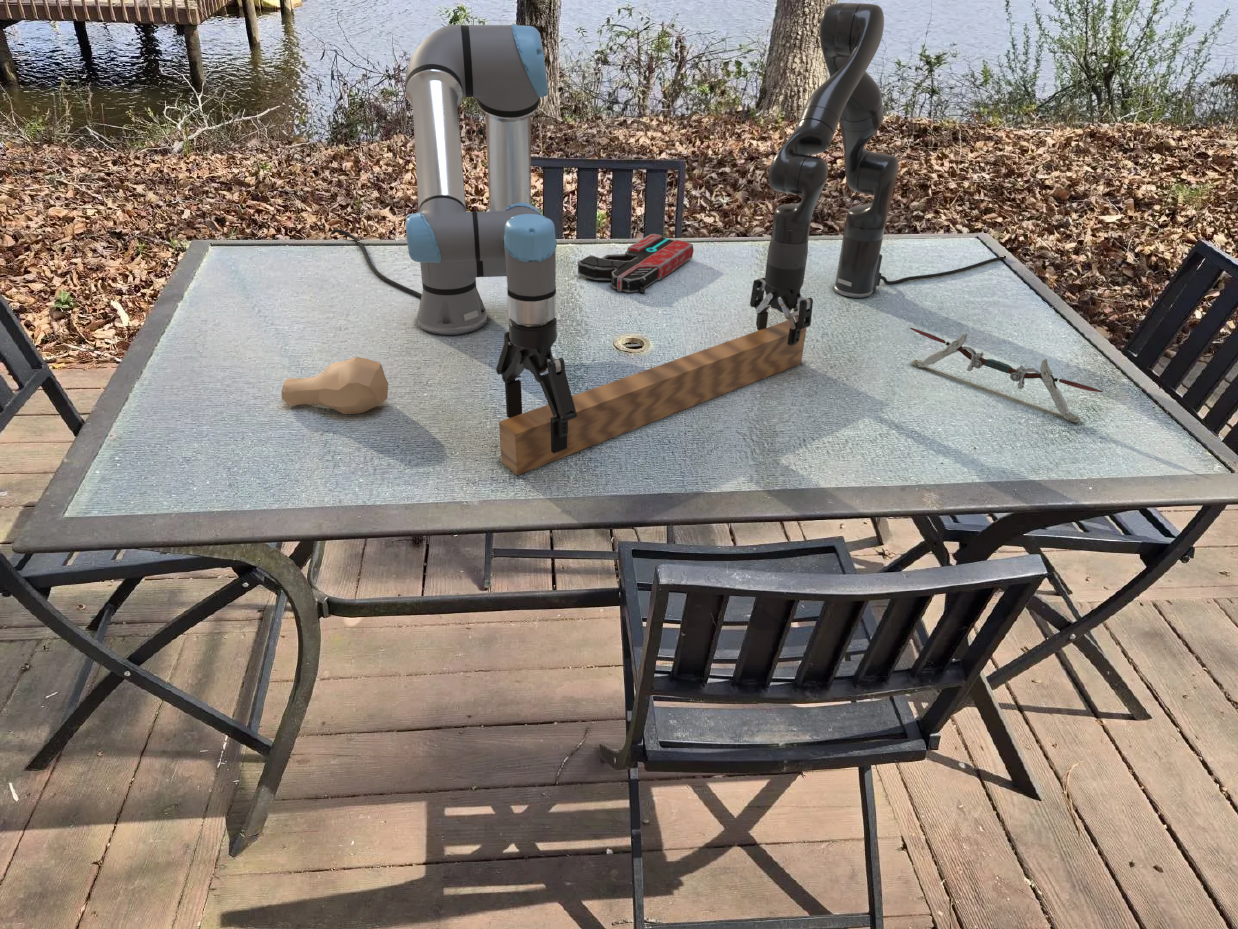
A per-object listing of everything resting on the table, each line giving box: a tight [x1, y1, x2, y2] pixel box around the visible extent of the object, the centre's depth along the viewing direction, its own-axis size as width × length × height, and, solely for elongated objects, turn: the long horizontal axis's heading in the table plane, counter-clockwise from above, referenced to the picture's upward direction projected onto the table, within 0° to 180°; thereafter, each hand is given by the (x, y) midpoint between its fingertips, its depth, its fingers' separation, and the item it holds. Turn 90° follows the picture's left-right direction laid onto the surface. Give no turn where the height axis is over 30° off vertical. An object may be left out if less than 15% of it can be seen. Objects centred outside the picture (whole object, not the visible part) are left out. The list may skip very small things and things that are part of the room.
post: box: [498, 319, 808, 476], centre depth 165 cm, size 70×5×8 cm, turn 128°
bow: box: [909, 326, 1104, 423], centre depth 173 cm, size 39×2×10 cm, turn 47°
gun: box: [577, 233, 695, 294], centre depth 225 cm, size 4×31×19 cm
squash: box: [281, 356, 389, 415], centre depth 163 cm, size 11×20×9 cm, turn 90°
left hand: (536, 432), depth 149 cm, fingers open, 13 cm apart
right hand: (776, 336), depth 179 cm, fingers open, 8 cm apart
